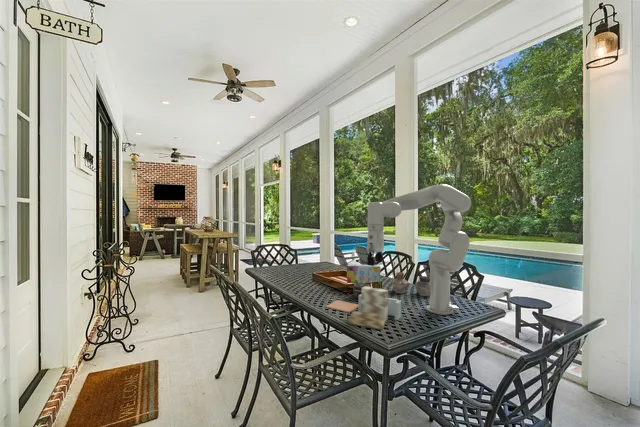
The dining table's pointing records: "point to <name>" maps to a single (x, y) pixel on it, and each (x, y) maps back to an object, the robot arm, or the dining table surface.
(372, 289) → the cream block
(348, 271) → the snack box
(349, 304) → the tile
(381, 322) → the block
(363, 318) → the offcut top
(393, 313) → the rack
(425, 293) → the pottery
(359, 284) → the jar
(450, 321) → the dining table surface
